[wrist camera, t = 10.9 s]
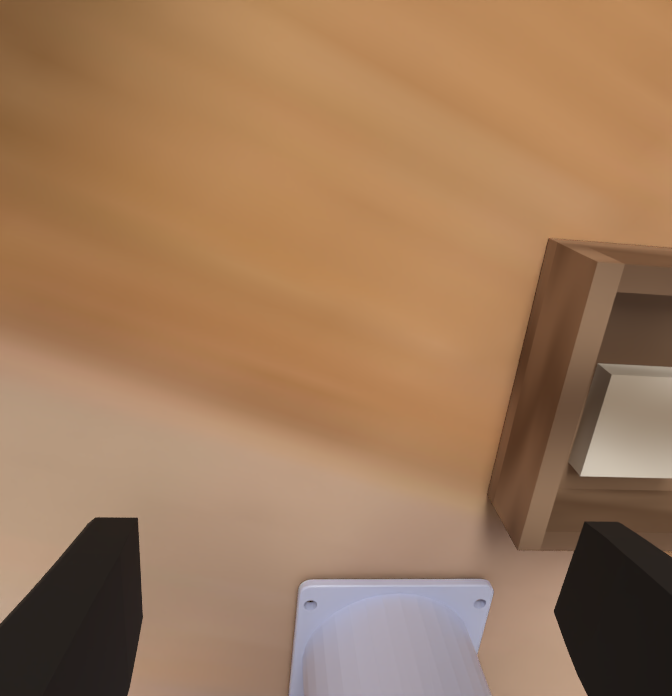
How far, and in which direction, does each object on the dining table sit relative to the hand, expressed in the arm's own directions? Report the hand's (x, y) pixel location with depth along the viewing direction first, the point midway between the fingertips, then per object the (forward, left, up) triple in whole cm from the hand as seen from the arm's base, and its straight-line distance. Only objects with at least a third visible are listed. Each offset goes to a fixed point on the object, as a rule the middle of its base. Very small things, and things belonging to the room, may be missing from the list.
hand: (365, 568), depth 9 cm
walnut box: (-1, -12, -10) cm, 16 cm away
